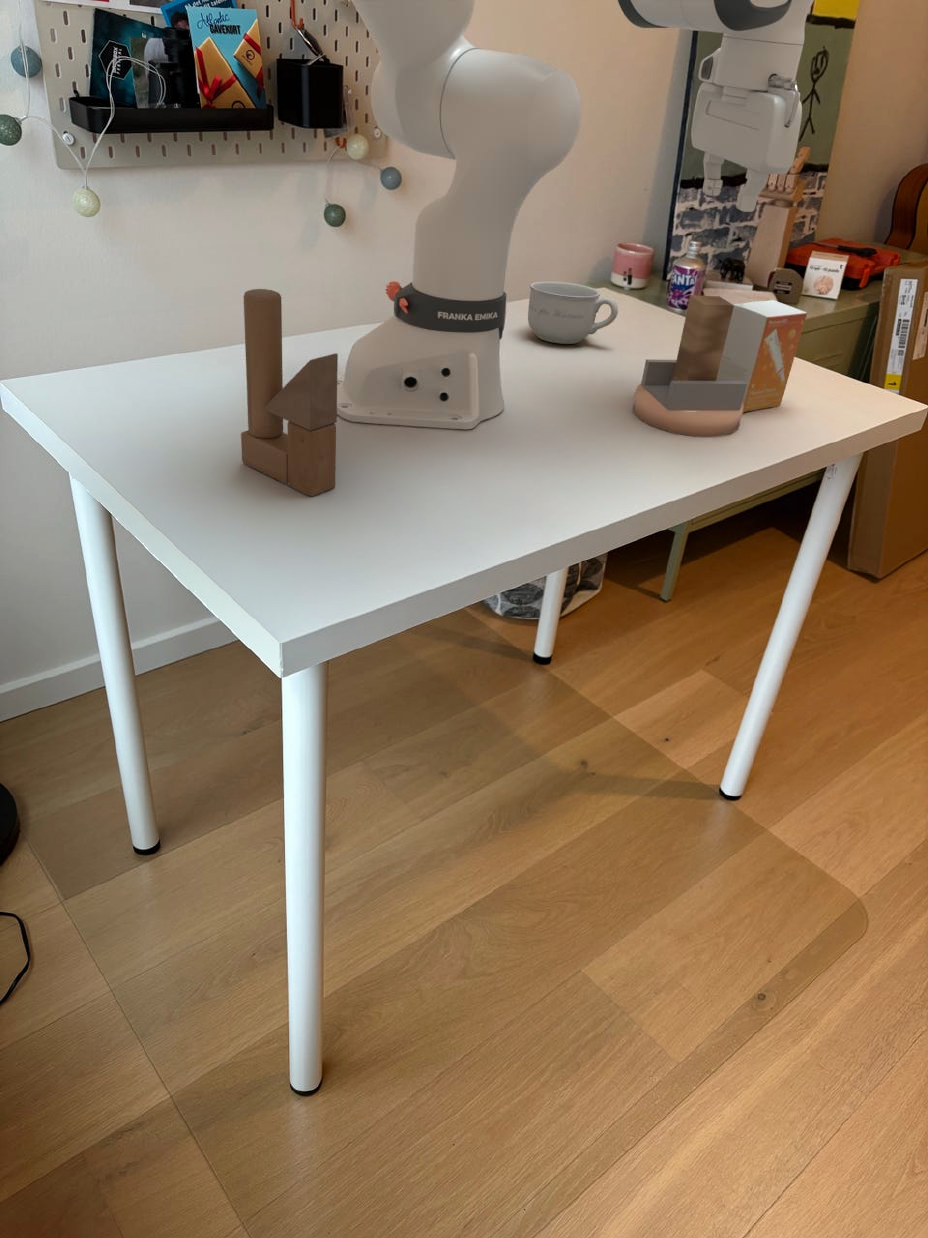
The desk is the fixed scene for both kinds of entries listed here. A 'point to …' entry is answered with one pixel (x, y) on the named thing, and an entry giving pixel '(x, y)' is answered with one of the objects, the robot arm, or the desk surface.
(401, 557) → the desk surface
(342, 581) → the desk surface
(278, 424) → the brown wooden block assembly
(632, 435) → the desk surface
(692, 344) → the wood grain beam
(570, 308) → the teacup
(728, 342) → the small box
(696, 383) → the round base with bracket
